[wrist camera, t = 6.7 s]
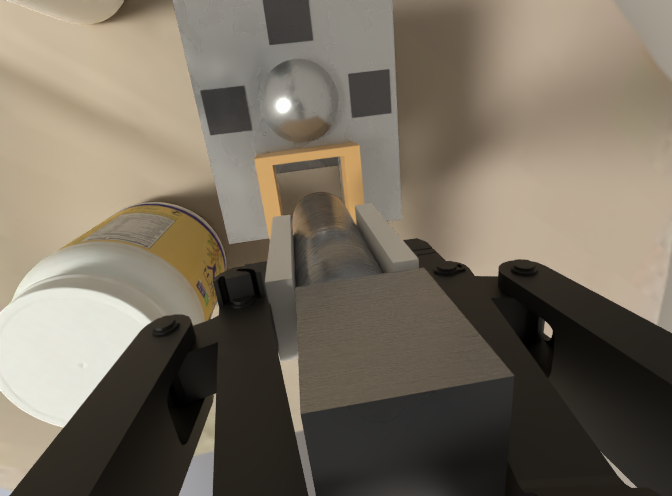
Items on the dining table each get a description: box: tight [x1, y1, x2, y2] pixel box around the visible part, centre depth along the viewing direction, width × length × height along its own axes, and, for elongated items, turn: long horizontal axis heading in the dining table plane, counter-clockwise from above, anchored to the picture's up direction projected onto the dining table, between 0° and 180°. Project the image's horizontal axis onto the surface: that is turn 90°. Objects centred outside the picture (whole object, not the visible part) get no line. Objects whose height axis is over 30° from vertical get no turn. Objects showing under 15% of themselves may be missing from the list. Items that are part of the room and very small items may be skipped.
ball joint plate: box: [172, 0, 402, 244], centre depth 29 cm, size 15×12×12 cm
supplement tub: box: [0, 202, 227, 427], centre depth 30 cm, size 12×12×17 cm
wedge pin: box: [292, 192, 514, 496], centre depth 13 cm, size 6×3×16 cm, turn 6°
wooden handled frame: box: [254, 142, 364, 240], centre depth 28 cm, size 17×6×5 cm, turn 6°
